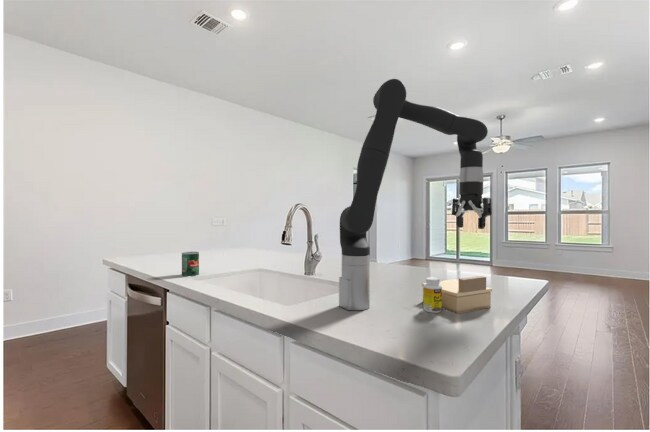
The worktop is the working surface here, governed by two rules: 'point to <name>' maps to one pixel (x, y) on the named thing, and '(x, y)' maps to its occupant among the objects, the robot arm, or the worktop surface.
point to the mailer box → (465, 302)
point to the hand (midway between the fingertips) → (470, 228)
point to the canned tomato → (190, 263)
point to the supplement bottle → (432, 295)
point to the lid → (464, 286)
